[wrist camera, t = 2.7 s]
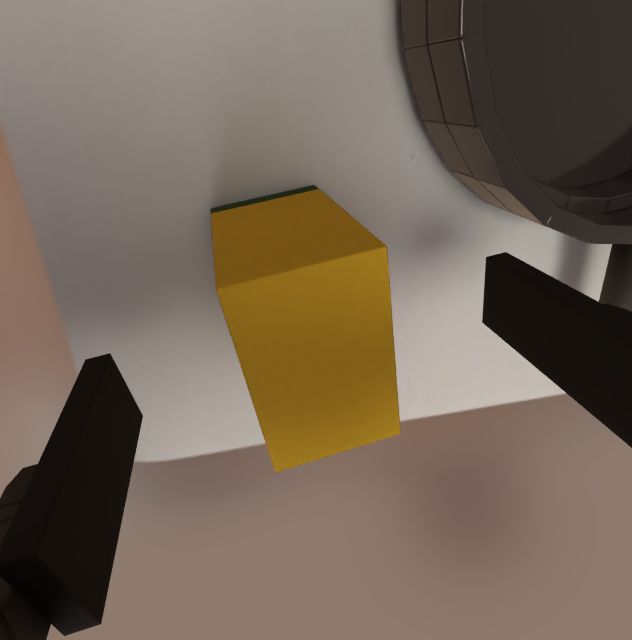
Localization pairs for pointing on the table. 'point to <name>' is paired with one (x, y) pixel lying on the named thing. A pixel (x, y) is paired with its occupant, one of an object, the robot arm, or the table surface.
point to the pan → (531, 105)
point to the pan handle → (618, 278)
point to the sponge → (308, 322)
